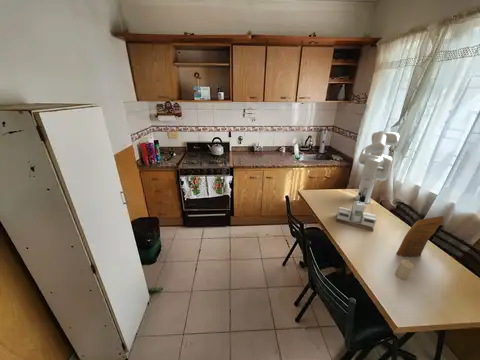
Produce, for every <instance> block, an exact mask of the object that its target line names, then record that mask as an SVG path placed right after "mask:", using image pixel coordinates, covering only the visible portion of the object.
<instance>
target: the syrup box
mask: <svg viewBox="0 0 480 360" xmlns="http://www.w3.org/2000/svg"><path fill="white" fill-rule="evenodd" d="M365 209H366V203H363V202H360V201H357V200H354V201H353V205H352V208H351V215H350V219H351V220H352V221H353V222H360V221H361V218H362V215H363V212H365Z"/></svg>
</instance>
